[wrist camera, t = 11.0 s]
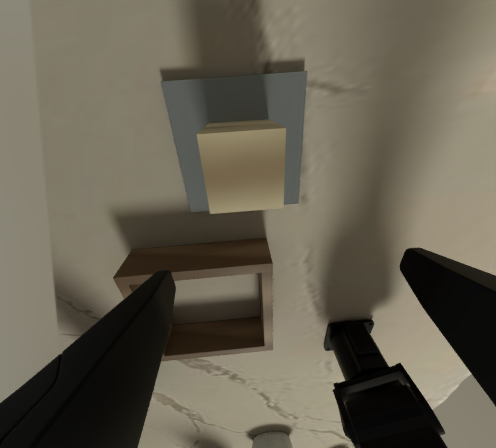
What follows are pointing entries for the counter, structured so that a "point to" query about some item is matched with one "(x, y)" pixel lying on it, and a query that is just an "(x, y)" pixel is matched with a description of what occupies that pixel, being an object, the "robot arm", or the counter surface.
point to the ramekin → (272, 440)
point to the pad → (235, 120)
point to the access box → (205, 266)
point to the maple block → (243, 165)
